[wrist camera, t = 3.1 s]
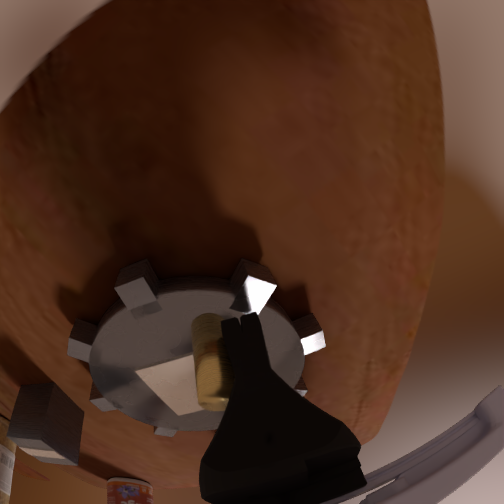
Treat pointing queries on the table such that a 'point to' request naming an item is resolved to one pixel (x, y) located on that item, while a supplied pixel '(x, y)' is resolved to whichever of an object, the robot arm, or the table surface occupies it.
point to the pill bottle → (129, 491)
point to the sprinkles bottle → (6, 461)
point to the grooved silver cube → (47, 424)
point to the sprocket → (184, 345)
